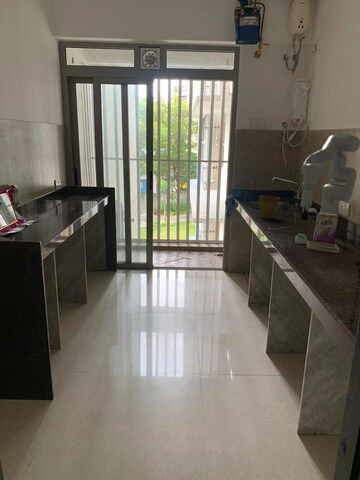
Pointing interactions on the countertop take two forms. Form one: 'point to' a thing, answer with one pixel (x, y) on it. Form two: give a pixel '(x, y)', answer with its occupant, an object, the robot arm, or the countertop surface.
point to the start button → (301, 236)
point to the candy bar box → (325, 227)
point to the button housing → (300, 240)
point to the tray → (322, 246)
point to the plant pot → (268, 205)
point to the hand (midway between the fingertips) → (303, 219)
